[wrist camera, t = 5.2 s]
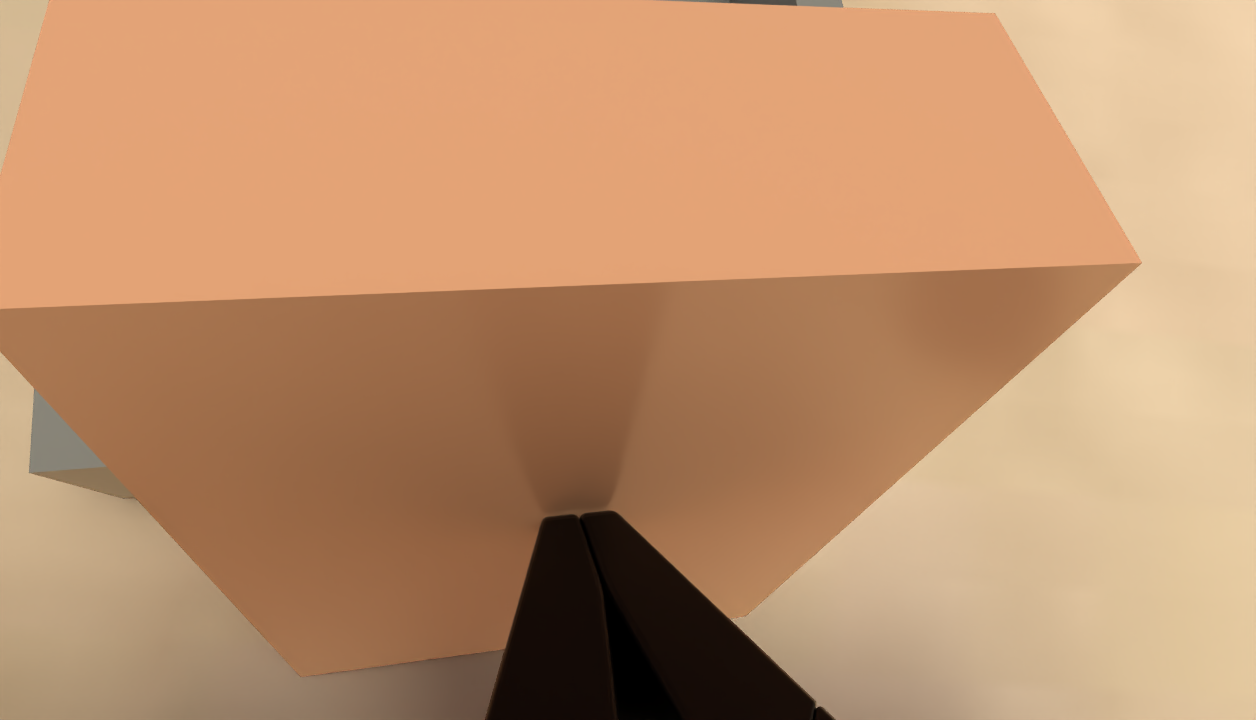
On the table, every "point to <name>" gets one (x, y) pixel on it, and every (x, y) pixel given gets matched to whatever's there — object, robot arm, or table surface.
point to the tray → (78, 465)
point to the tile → (524, 283)
